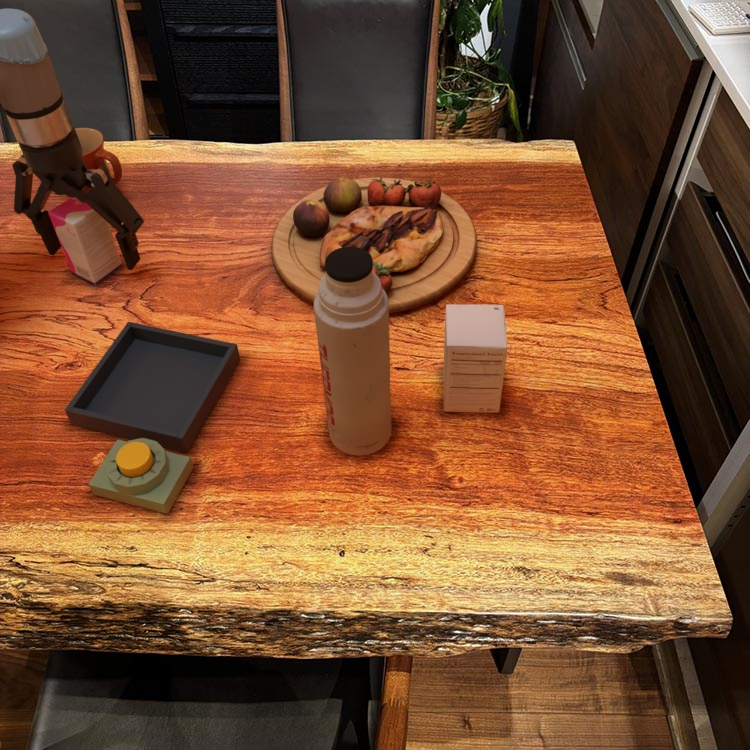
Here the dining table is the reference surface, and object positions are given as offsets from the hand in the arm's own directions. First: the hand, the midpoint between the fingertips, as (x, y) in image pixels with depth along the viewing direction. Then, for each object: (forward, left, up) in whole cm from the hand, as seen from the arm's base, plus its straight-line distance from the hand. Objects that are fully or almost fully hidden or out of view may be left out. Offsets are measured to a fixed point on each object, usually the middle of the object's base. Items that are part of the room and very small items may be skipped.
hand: (94, 257), depth 123 cm
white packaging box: (+61, -9, -3) cm, 61 cm away
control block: (+26, -34, -2) cm, 42 cm away
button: (+26, -34, +1) cm, 42 cm away
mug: (-9, +17, -3) cm, 19 cm away
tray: (+21, -20, -2) cm, 29 cm away
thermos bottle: (+49, -19, -3) cm, 52 cm away
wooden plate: (+40, +16, -3) cm, 43 cm away
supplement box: (0, 0, -3) cm, 3 cm away
